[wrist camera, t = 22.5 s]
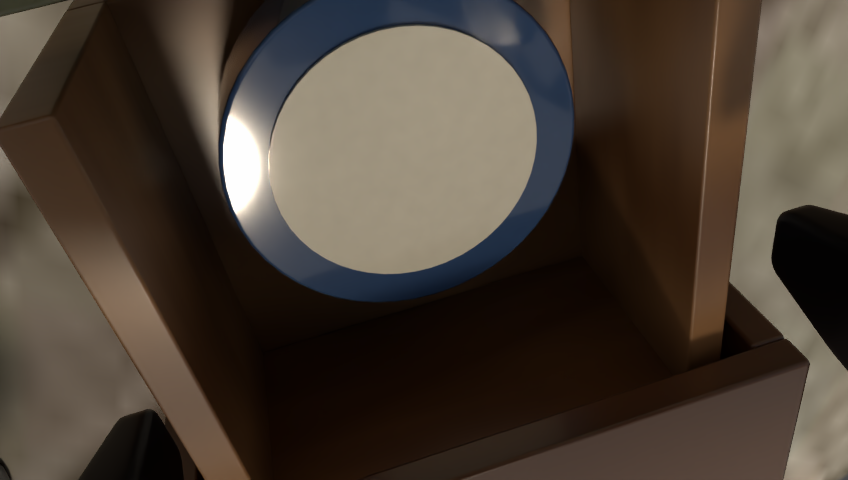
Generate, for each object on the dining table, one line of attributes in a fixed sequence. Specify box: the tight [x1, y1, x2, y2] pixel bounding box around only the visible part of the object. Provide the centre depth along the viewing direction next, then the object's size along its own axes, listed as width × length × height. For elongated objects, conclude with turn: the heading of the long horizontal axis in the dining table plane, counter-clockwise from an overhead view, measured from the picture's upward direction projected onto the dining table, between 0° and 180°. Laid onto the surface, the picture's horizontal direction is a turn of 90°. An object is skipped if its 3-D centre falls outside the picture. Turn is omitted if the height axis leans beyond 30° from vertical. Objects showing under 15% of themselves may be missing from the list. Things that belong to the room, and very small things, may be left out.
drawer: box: [0, 0, 762, 480], centre depth 13 cm, size 18×12×7 cm
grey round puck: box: [218, 0, 574, 302], centre depth 15 cm, size 7×7×3 cm
